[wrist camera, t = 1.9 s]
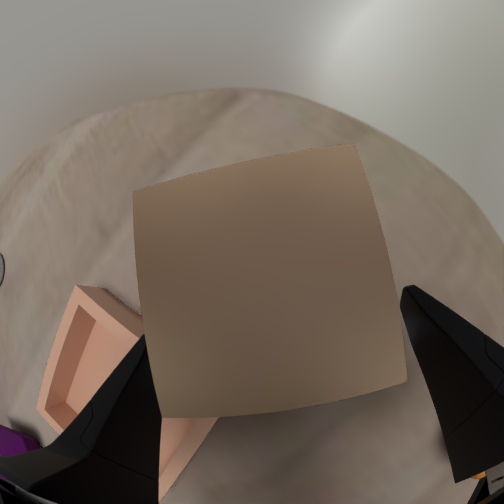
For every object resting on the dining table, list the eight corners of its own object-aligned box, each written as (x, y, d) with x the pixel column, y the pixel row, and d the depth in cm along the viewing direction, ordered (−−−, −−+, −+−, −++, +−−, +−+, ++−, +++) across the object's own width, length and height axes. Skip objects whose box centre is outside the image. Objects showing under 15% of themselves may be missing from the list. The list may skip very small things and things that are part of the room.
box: (170, 487, 17) (152, 509, 13) (62, 400, 20) (36, 408, 16) (241, 382, 18) (230, 399, 14) (105, 288, 21) (75, 284, 17)
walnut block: (326, 328, 17) (407, 381, 4) (249, 342, 18) (162, 418, 5) (312, 252, 18) (354, 143, 5) (236, 267, 19) (132, 191, 6)
